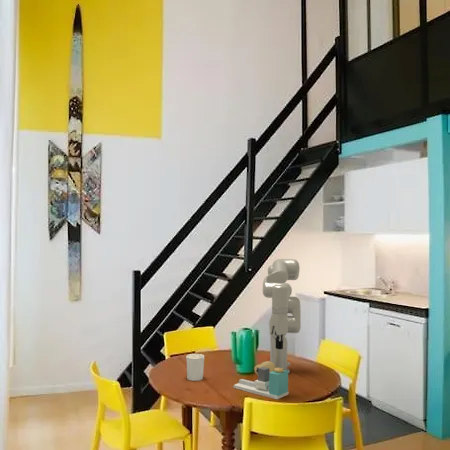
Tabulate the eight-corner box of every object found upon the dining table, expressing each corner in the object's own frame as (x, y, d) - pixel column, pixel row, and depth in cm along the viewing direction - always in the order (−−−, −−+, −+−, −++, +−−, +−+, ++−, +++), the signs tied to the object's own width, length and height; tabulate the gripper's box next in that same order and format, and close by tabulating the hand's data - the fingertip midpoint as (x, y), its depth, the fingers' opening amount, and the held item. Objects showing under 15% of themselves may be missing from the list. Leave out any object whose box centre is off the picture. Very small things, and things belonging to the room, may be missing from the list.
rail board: (245, 383, 260) (245, 361, 260) (288, 394, 244) (288, 370, 244) (233, 388, 252) (233, 365, 252) (277, 399, 236) (277, 375, 236)
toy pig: (253, 378, 269) (253, 358, 269) (275, 378, 269) (275, 358, 269) (255, 384, 259) (255, 363, 259) (278, 384, 259) (278, 363, 259)
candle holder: (192, 374, 274) (193, 352, 274) (207, 377, 269) (208, 355, 269) (182, 379, 265) (182, 356, 265) (197, 382, 260) (197, 359, 260)
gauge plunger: (277, 380, 245) (277, 367, 245) (285, 382, 242) (285, 368, 242) (272, 382, 241) (272, 368, 241) (280, 384, 238) (280, 370, 238)
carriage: (262, 384, 251) (262, 365, 252) (272, 387, 248) (272, 367, 248) (254, 388, 246) (254, 368, 246) (264, 390, 242) (265, 370, 242)
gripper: (281, 307, 250) (280, 344, 250) (264, 311, 238) (264, 350, 238) (294, 309, 245) (293, 347, 245) (278, 313, 234) (277, 353, 234)
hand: (279, 348), depth 242 cm, fingers closed
